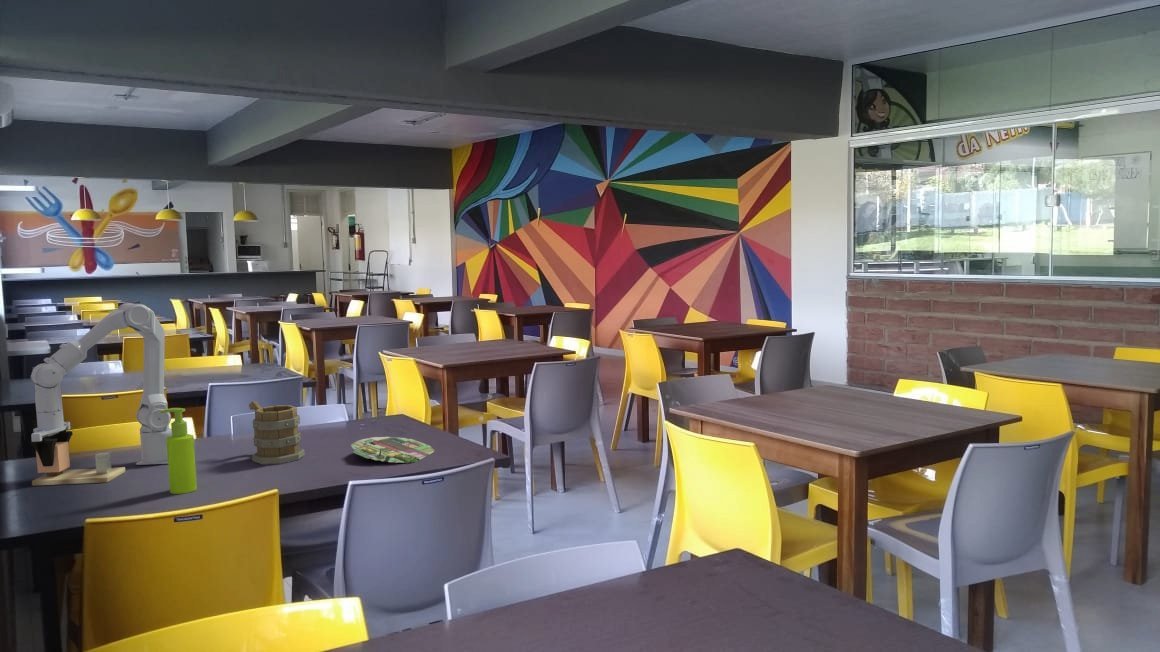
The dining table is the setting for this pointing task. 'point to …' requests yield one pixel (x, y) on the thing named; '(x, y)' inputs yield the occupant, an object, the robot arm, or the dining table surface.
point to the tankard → (276, 434)
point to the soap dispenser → (180, 455)
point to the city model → (392, 449)
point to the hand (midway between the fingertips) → (54, 463)
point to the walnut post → (54, 473)
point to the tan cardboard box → (56, 459)
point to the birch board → (78, 477)
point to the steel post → (103, 463)
